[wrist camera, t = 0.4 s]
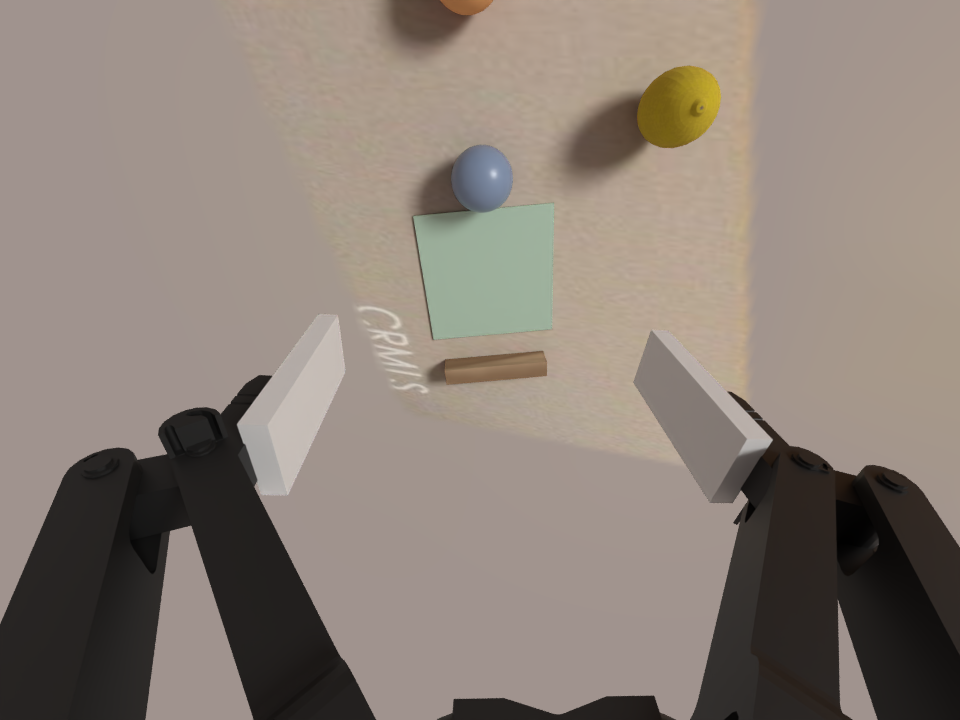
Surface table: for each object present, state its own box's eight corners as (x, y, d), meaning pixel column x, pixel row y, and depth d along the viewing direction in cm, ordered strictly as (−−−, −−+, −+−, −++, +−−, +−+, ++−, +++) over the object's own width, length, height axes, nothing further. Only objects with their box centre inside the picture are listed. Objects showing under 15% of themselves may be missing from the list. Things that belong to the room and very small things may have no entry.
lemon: (620, 147, 36) (656, 152, 29) (629, 73, 33) (672, 60, 26) (679, 144, 36) (728, 149, 29) (693, 70, 33) (752, 57, 26)
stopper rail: (445, 359, 48) (444, 370, 45) (543, 350, 47) (546, 361, 45) (447, 373, 49) (446, 384, 46) (543, 364, 48) (546, 375, 46)
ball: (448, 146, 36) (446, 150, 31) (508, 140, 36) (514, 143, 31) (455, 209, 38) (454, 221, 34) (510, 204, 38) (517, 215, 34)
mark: (413, 215, 39) (413, 216, 38) (553, 202, 38) (554, 203, 38) (433, 338, 46) (433, 339, 46) (551, 328, 46) (551, 329, 46)
